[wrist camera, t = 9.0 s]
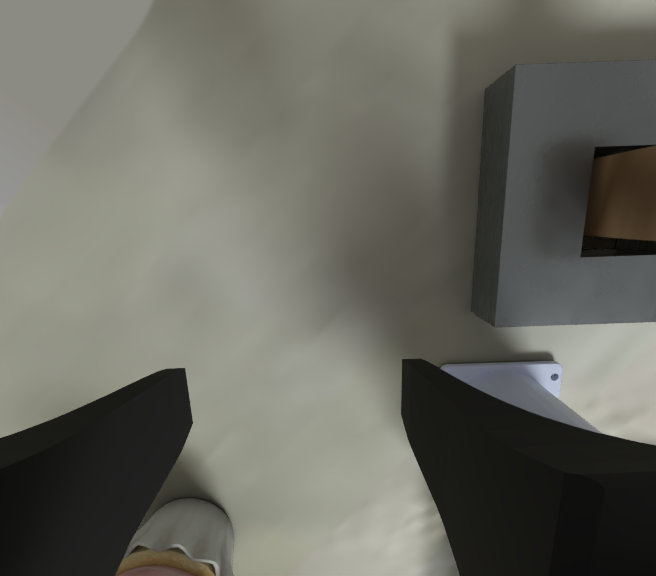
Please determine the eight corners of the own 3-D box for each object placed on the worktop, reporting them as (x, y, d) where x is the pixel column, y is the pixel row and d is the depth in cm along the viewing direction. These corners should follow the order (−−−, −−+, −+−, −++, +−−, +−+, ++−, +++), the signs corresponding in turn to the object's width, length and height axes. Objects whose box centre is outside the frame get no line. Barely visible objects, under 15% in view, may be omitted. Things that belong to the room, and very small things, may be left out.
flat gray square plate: (672, 305, 21) (728, 319, 18) (471, 311, 21) (494, 327, 18) (718, 80, 18) (793, 54, 15) (485, 89, 18) (516, 64, 15)
